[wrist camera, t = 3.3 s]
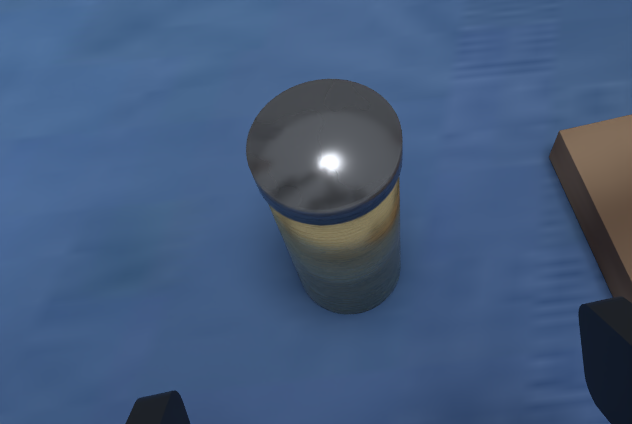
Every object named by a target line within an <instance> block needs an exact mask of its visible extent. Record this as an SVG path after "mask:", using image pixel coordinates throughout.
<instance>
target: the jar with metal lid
mask: <svg viewBox="0 0 632 424" xmlns="http://www.w3.org/2000/svg"><path fill="white" fill-rule="evenodd" d="M246 154H247V161H248V165H249V168H250V170H251V173H252V175H253V177H254V180H255V182H256V184H257V187H258V189H259V191H260V193H261V194H262V196H263V198H264V199H265V200H266V201H267V203H268V204H269V206H270V209H271V211H272V214H273V216H274V218H275V221H276V223H277V225H278V228H279V230H280V232H281V235H282V237H283V240H284V242H285V244H286V247H287V249H288V251H289V254H290V256H291V258H292V261H293V263H294V265H295V268H296V270H297V273H298V275H299V277H300V280H301V282H302V284H303V287H304V289H305V290H306V292H307V294H308V295H309V296H310V298H311V299H312V300H313V301H315V302H316V303H317V304H318V305H320V306H321V307H323V308H325V309H327V310H329V311H332V312H336V313H340V314H356V313H362V312H365V311H368V310H370V309H373V308H375V307H376V306H378V305H379V304H381V303H382V302H383V301H385V299H386V298H387V297H388V296H389V295H390V294H391V293H392V291H393V290H394V288H395V286H396V284H397V281H398V279H399V274H400V196H399V175H400V171H401V167H402V130H401V125H400V122H399V119H398V117H397V114H396V113H395V111H394V109H393V108H392V106H391V105H390V104H389V103H388V102H387V101H386V100H385V99H384V98H383V97H382V96H381V95H380V94H378V93H377V92H375V91H374V90H372V89H370V88H368V87H366V86H364V85H361V84H359V83H356V82H352V81H348V80H340V79H322V80H315V81H309V82H306V83H302V84H299V85H297V86H294V87H292V88H290V89H288V90H286V91H284V92H282V93H281V94H279V95H278V96H276V97H275V98H274V99H272V100H271V101H270V102H269V103H268V104H267V105H266V106H265V107H264V108H263V109H262V110H261V111H260V113H259V114H258V115H257V117H256V118H255V120H254V122H253V124H252V126H251V128H250V131H249V134H248V138H247V145H246Z"/></svg>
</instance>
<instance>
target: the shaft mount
mask: <svg viewBox="0 0 632 424" xmlns="http://www.w3.org/2000/svg"><path fill="white" fill-rule="evenodd" d="M549 158H550V160H551V162H552V164H553V167H554V169H555V171H556V173H557V175H558V178H559V180H560V182H561V184H562V186H563V189H564V191H565V193H566V195H567V197H568V199H569V202H570V204H571V206H572V208H573V210H574V213H575V215H576V217H577V219H578V221H579V224H580V226H581V228H582V230H583V232H584V234H585V237H586V239H587V241H588V243H589V245H590V248H591V250H592V252H593V254H594V256H595V259H596V261H597V263H598V265H599V267H600V269H601V272H602V274H603V276H604V278H605V280H606V283H607V285H608V287H609V289H610V291H611V293H612V296H613V298H614V297H619V296H621V297H624V298H626V299H627V300H628V301H630V302H631V303H632V115H628V116H623V117H619V118H614V119H610V120H605V121H601V122H597V123H592V124H588V125H583V126H579V127H574V128H570V129H566V130H561V131H559V133H558V135H557V138H556V140H555V143H554V145H553V148H552V150H551V153H550V155H549Z"/></svg>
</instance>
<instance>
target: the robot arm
mask: <svg viewBox="0 0 632 424" xmlns="http://www.w3.org/2000/svg"><path fill="white" fill-rule="evenodd" d="M579 326H580V335H581V345H582V354H583V364H584V373H585V379H586V383H587V386H588V389H589V392H590V394H591V396H592V399H593V401H594V402H595V404H596V406H597V407H598V408H599V410H600V411H601V412H602V413H603V415H604V416H605V417H606V418H607V419H608V421H609V422H610V423H611V424H632V303H631V302H630V301H628V300H627V299H626V298H624V297H621V296H619V297H614V298H610V299H605V300H600V301H596V302H591V303H586V304H582V305H581V306H580V308H579ZM126 424H190V421H189V418H188V415H187V412H186V409H185V406H184V403H183V401H182V398H181V396H180V394H179V393H178V392H177V391H170V392H165V393H161V394H156V395H151V396H147V397H142V398H139V399H137V400H136V402H135V404H134V406H133V409H132V411H131V413H130V415H129V417H128V419H127V422H126Z"/></svg>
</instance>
